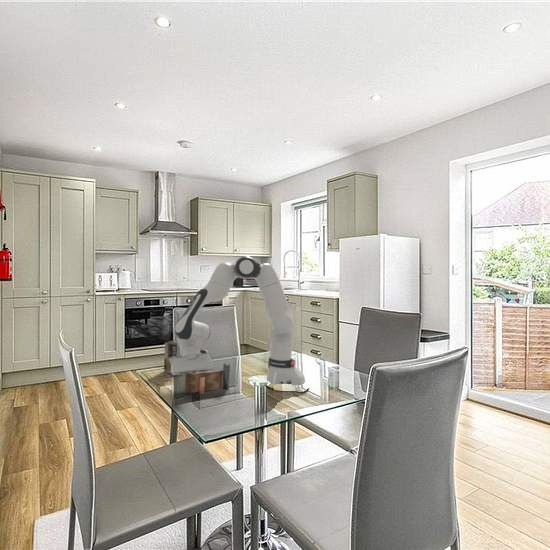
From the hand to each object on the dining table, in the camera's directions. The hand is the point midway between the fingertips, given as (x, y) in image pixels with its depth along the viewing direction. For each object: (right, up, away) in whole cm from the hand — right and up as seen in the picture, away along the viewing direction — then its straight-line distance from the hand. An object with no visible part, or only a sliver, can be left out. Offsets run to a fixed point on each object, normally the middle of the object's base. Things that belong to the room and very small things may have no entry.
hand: (195, 381), depth 189 cm
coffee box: (-17, -3, +28) cm, 33 cm away
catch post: (+3, -5, -1) cm, 6 cm away
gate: (+4, -5, +1) cm, 6 cm away
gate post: (+13, -5, +7) cm, 16 cm away
